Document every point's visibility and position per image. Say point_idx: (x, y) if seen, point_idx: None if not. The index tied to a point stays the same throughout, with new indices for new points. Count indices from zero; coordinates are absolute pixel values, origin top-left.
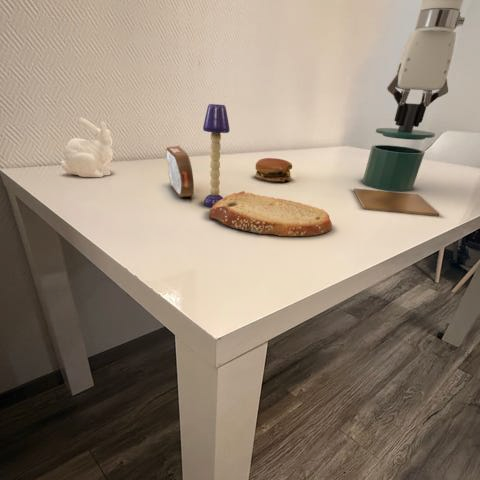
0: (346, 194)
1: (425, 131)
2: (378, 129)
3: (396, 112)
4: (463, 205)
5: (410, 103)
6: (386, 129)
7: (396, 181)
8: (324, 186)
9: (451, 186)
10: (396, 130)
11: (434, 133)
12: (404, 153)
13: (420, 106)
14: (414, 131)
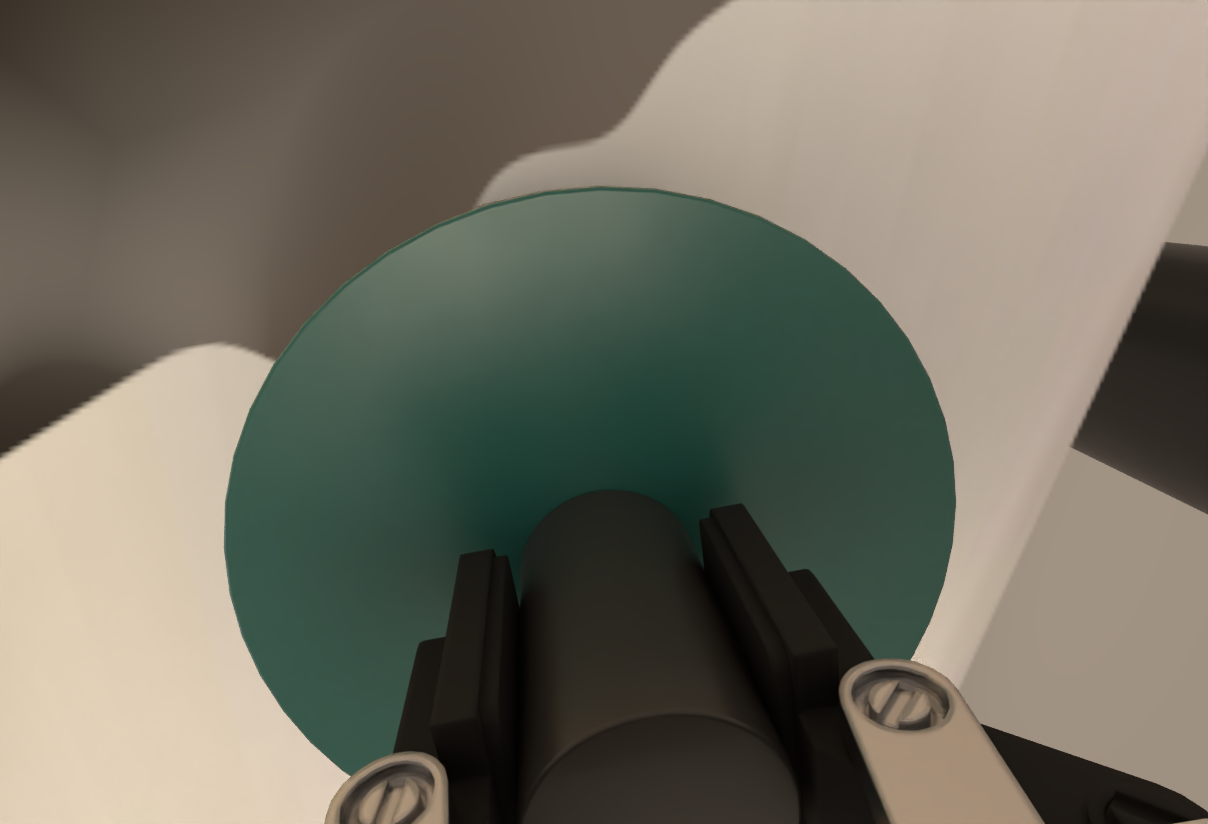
0: (309, 760)
1: (902, 366)
2: (262, 609)
3: (406, 716)
4: (935, 634)
5: (629, 742)
6: (367, 519)
7: None
8: (136, 665)
9: (1058, 140)
10: (502, 547)
11: (947, 556)
12: None
13: (803, 796)
14: (736, 492)
